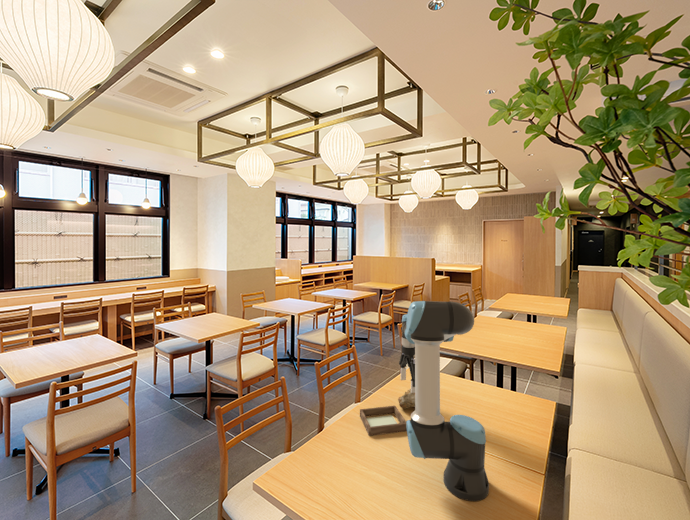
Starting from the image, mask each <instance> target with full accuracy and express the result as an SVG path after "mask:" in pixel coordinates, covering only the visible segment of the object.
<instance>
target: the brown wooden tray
mask: <svg viewBox="0 0 690 520" xmlns="http://www.w3.org/2000/svg"><path fill="white" fill-rule="evenodd" d="M387 415H394V416H395V418H396V419H397V421H398V422H397V424H390V425H381V426H373V427H370V425H369V423H368V421H367V419H366V418H369V417H378V416H387ZM359 417H360V420H361V421H362V424H363V427H364V428H365V431H366V433H367V435H368V437H371V436H379V435H386V434H387V435H388V434H396V433H403V432H404V433H405V432H407V428H406V421H407V420H406V419H405V417H404V416H403V415H402V413H401V412H400V411H399V409H398V408H397V406H396V405H386V406H380V407H370V408H359Z"/></svg>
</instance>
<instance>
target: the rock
mask: <svg viewBox="0 0 690 520" xmlns="http://www.w3.org/2000/svg"><path fill="white" fill-rule="evenodd" d="M397 401H398V406H399V407H400V408H401V409H404V410H406V409H407V408H415V393H411V388H409V389H407V391H405V392H404V394H403V395H401V396H399V397H398V398H397Z"/></svg>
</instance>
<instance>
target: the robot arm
mask: <svg viewBox="0 0 690 520" xmlns="http://www.w3.org/2000/svg"><path fill="white" fill-rule="evenodd" d="M401 318H402V319H401V342H400V343H401V349H400V350H401V355H400V357H399V362H398V365H399V366H400V381H406V380H407V367H408V369H409V373H410V377H411V379H410V389H411V393H415V407H414V411H412V412H411V413H410V419H408V420H405V421H406V428H407V431H406V434H407V439H408V441H407V442H408V446H409V450H410V451H409V452H410V454H411V455H412V457H414V458H419V459H420V458H422V459H424V460H426V459H435V460H437V459H439V460H448V462H447V464H446V466H445V468H444V471H443V483H444V485H445V488H446V489H447V490H448V491H449V492H450V493H451V494H453V495H454V496H455V497H457V498H460V499H462V500H464V501H467V502H478V501H482V500H485V499H486V498H487V497H488V495H489V493H490V481H489V479H488V476H487V472H486V469H485V462H486V461H485V460H486V459H485V457H486V442H487V439H486V429H485V427H484V425H482V423H481V422H479V421H478V420H477V419H475V418H473V417H470V416H468V415H464V414H455V415H452V416H451V417H450V418H449V421H445V417H444V416H443V415H442V414H441V377H440V376H441V370H440V369H441V364H440V363H441V355H440V354H441V352H440V351H441V349H440V347H441V346H440V345H441V344H442V343H443V342H444V343H447V342H449V343H450V342H453V340H454V338H455V337H454V336H456V335H460V336H461V335H465V334H467V333H469V332H470V331H471V330H472V329H473V327H474V325H475V317H474V314H473V312H472V311H471V310H470V308H468V307H467V306H466V305H464V304H462V303H459V302H456V301H440V300H439V301H434V300H431V301H430V300H421V301H420V300H419V301H418V300H417V301H412V302H411V303H410V304H409V307H408V310H407V313H406V314H403V315H402V317H401Z"/></svg>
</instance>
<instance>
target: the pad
mask: <svg viewBox="0 0 690 520" xmlns="http://www.w3.org/2000/svg"><path fill="white" fill-rule="evenodd" d="M366 419H367V421H368V423H369V425H370V427H373V426H381V425H390V424H398V422H397V420H396V419H395V417H394V416H393V414H386V415H378V416H369V417H366Z"/></svg>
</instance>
